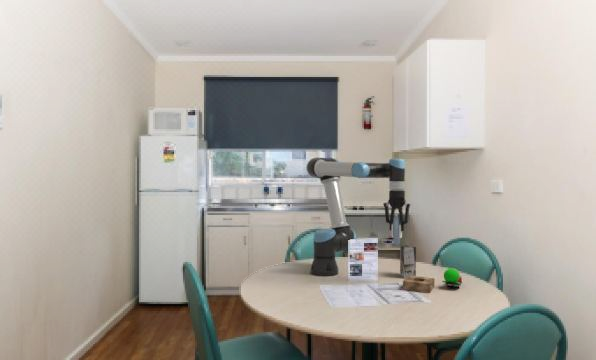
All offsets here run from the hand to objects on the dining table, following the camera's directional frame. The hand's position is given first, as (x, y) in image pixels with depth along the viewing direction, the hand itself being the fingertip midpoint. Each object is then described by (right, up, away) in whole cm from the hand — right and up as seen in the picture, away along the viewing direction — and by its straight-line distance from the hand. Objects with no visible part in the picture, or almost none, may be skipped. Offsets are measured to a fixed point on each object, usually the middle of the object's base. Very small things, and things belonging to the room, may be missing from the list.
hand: (396, 237), depth 208 cm
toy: (+25, -23, -8) cm, 35 cm away
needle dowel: (0, -4, 0) cm, 4 cm away
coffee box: (+9, -22, +12) cm, 27 cm away
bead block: (+8, -22, -11) cm, 26 cm away
